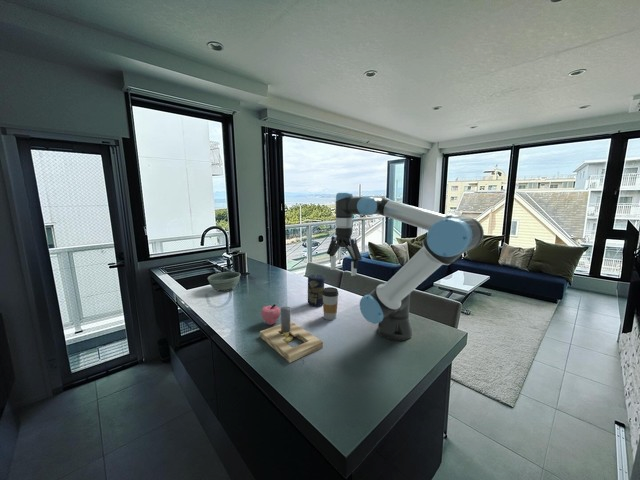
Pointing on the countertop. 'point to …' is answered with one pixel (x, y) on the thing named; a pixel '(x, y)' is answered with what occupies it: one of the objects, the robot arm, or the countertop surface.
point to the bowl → (224, 280)
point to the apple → (270, 314)
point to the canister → (315, 290)
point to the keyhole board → (290, 354)
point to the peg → (286, 323)
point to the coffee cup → (330, 302)
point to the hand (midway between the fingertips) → (343, 272)
